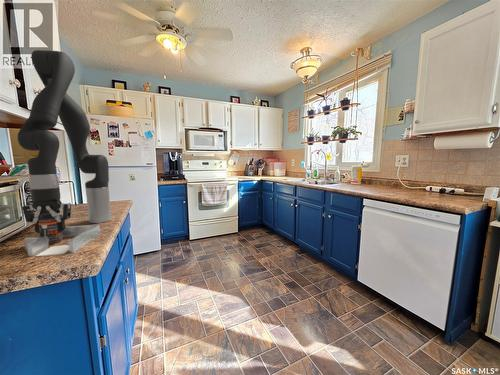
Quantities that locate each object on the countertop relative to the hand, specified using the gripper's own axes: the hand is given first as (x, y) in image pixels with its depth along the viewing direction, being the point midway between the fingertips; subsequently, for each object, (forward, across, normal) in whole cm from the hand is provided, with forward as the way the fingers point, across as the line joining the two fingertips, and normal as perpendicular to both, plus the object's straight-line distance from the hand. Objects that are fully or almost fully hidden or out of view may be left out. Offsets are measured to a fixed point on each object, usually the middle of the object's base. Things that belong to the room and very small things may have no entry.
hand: (50, 231), depth 76 cm
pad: (+4, -7, +9) cm, 12 cm away
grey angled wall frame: (+4, -4, +3) cm, 7 cm away
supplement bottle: (+4, 0, 0) cm, 4 cm away
